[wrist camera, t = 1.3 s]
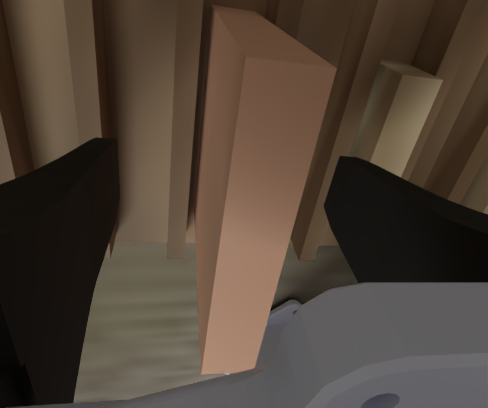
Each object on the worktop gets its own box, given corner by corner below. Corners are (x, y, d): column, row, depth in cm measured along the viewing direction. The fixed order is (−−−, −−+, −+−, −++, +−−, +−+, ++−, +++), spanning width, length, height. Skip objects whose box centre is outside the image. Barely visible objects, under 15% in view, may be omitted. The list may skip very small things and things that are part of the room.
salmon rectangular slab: (255, 11, 13) (336, 68, 6) (226, 212, 18) (253, 371, 11) (211, 4, 13) (245, 56, 6) (194, 211, 18) (201, 374, 11)
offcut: (403, 61, 15) (443, 80, 13) (351, 201, 19) (375, 235, 16) (368, 56, 15) (402, 74, 12) (323, 200, 18) (342, 234, 16)
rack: (597, 10, 16) (662, 18, 14) (459, 240, 23) (487, 269, 21) (-75, -119, 11) (-139, -138, 9) (12, 228, 18) (-11, 264, 16)
